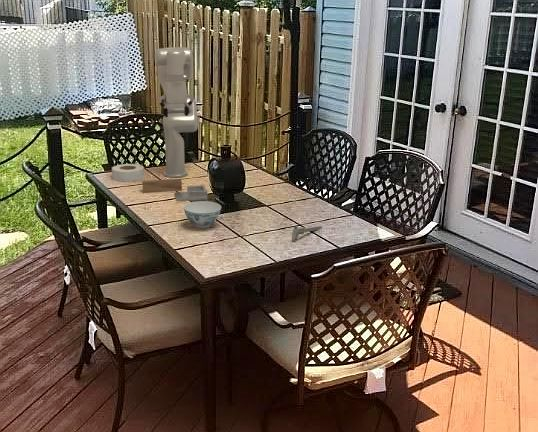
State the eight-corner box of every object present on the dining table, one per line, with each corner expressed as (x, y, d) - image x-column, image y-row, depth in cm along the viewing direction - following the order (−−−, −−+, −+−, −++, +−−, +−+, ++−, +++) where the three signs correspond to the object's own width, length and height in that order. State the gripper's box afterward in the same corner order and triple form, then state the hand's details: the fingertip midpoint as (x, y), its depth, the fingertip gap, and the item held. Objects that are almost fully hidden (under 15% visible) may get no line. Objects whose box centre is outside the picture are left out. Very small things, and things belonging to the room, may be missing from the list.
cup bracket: (174, 194, 296) (174, 186, 294) (204, 192, 299) (204, 184, 298) (176, 201, 286) (176, 193, 284) (207, 199, 289) (207, 191, 288)
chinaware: (187, 232, 249) (186, 214, 246) (181, 220, 262) (181, 202, 260) (224, 229, 253) (224, 211, 250) (217, 217, 266) (217, 200, 264)
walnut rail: (142, 190, 300) (142, 180, 299) (180, 188, 305) (180, 178, 303) (143, 193, 296) (142, 183, 295) (181, 191, 301) (181, 181, 299)
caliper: (293, 242, 242) (294, 227, 240) (291, 242, 243) (292, 226, 241) (322, 228, 258) (323, 213, 256) (320, 227, 258) (321, 213, 256)
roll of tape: (112, 174, 326) (112, 163, 324) (144, 173, 328) (143, 163, 327) (111, 182, 311) (110, 171, 309) (144, 182, 314) (143, 171, 312)
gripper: (190, 77, 294) (191, 114, 300) (154, 78, 287) (155, 115, 292) (196, 78, 288) (196, 116, 293) (159, 80, 281) (160, 118, 286)
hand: (176, 116), depth 293 cm, fingers open, 9 cm apart
